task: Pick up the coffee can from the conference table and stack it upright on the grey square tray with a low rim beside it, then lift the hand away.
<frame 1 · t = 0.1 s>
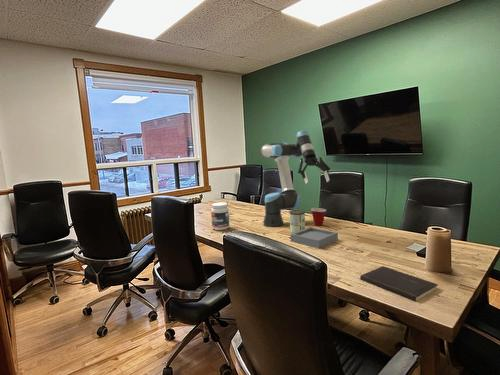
hand: (317, 181, 172), 36 cm above the table, fingers open, 13 cm apart
supplement tub: (220, 228, 215), on the table
coffee can: (297, 232, 196), on the table
hardcover book: (397, 285, 118), on the table
grey square tray: (314, 240, 177), on the table
plastic cup: (318, 225, 211), on the table
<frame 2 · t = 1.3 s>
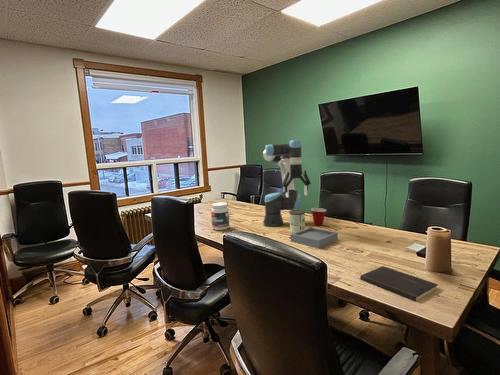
hand: (296, 196, 193), 25 cm above the table, fingers open, 13 cm apart
nothing on the table moved.
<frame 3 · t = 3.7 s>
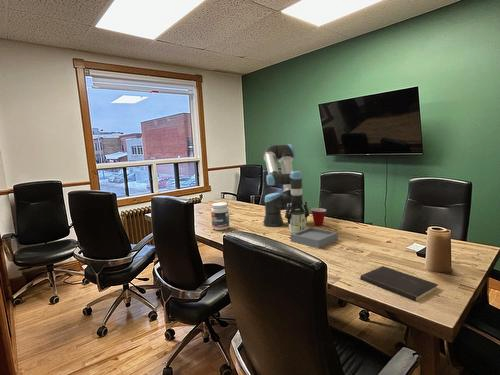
hand: (297, 227, 196), 3 cm above the table, fingers closed on coffee can, 10 cm apart
coffee can: (297, 232, 196), on the table, touching gripper
everything else where it was.
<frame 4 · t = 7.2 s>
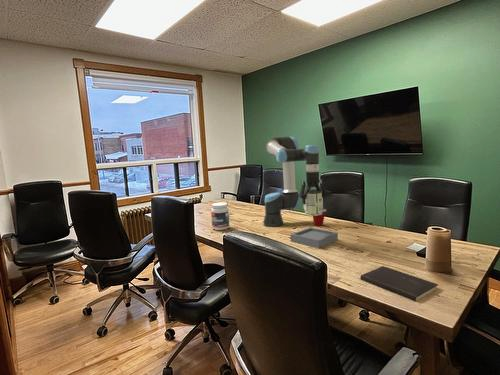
hand: (313, 208, 174), 20 cm above the table, fingers closed on coffee can, 10 cm apart
coffee can: (313, 214, 175), point 16 cm above the table, touching gripper
everything else where it was.
when the fingers open (7 cm above the table, at t = 10.9 s): coffee can drops 1 cm, resting on grey square tray.
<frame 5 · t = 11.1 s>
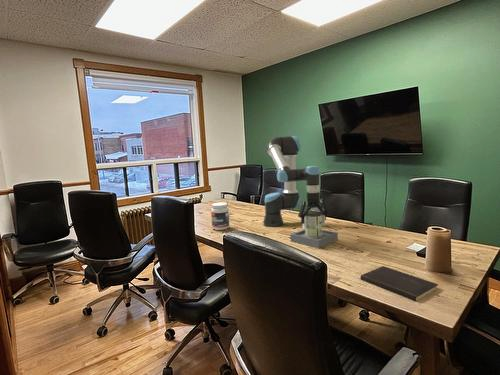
hand: (313, 227, 176), 8 cm above the table, fingers open, 12 cm apart
coffee can: (313, 236, 177), point 3 cm above the table, touching grey square tray
everything else where it was.
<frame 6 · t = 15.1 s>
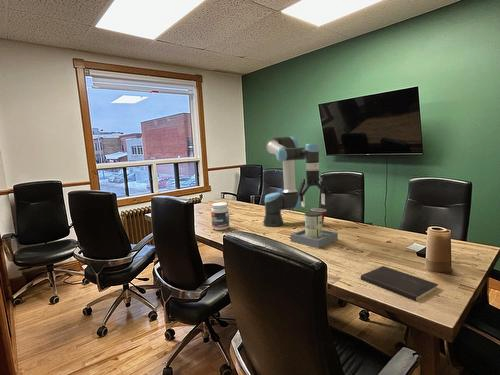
hand: (313, 205, 174), 22 cm above the table, fingers open, 13 cm apart
nothing on the table moved.
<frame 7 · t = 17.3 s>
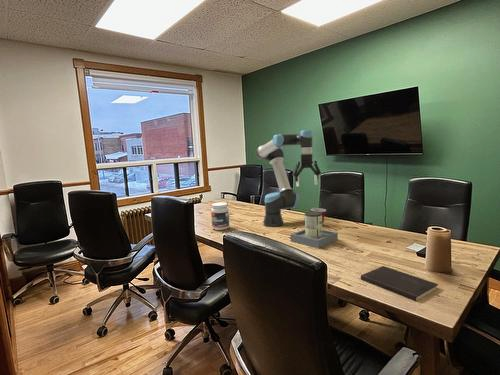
hand: (306, 185, 197), 31 cm above the table, fingers open, 13 cm apart
nothing on the table moved.
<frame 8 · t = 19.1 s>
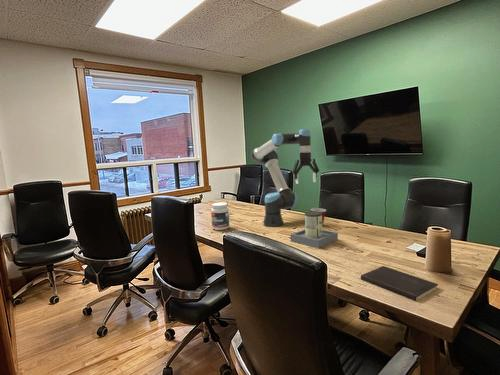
hand: (306, 183, 202), 32 cm above the table, fingers open, 13 cm apart
nothing on the table moved.
at the end: coffee can 0.1 cm from the grey square tray (horizontally); coffee can point 2.8 cm above the table; coffee can tilted 0° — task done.
